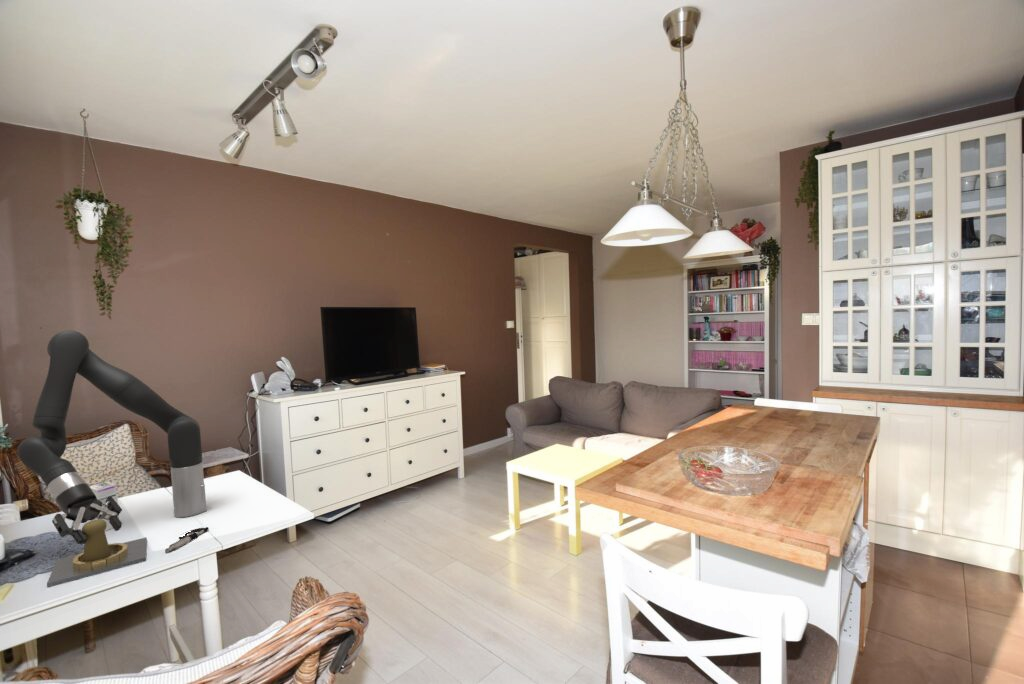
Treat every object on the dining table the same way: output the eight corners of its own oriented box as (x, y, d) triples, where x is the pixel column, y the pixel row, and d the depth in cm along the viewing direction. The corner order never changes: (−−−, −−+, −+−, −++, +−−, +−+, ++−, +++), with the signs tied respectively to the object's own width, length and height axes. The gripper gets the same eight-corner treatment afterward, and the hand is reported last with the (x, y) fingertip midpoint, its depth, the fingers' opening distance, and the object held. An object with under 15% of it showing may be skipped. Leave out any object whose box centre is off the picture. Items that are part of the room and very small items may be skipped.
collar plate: (146, 540, 146) (146, 532, 146) (145, 560, 133) (145, 552, 133) (57, 562, 134) (56, 553, 134) (47, 587, 121) (46, 577, 121)
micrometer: (192, 530, 153) (192, 522, 153) (211, 531, 152) (211, 523, 152) (149, 553, 138) (148, 545, 138) (170, 554, 137) (169, 546, 137)
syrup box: (120, 525, 158) (117, 482, 157) (99, 533, 152) (95, 489, 151) (111, 522, 160) (107, 480, 159) (90, 530, 155) (86, 486, 154)
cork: (94, 555, 135) (90, 517, 135) (116, 553, 136) (113, 516, 135) (76, 566, 129) (73, 527, 129) (100, 564, 130) (96, 525, 129)
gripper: (45, 492, 128) (77, 539, 125) (105, 475, 141) (135, 516, 138) (35, 510, 130) (66, 556, 127) (94, 491, 143) (124, 532, 140)
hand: (102, 535), depth 133 cm, fingers open, 8 cm apart
